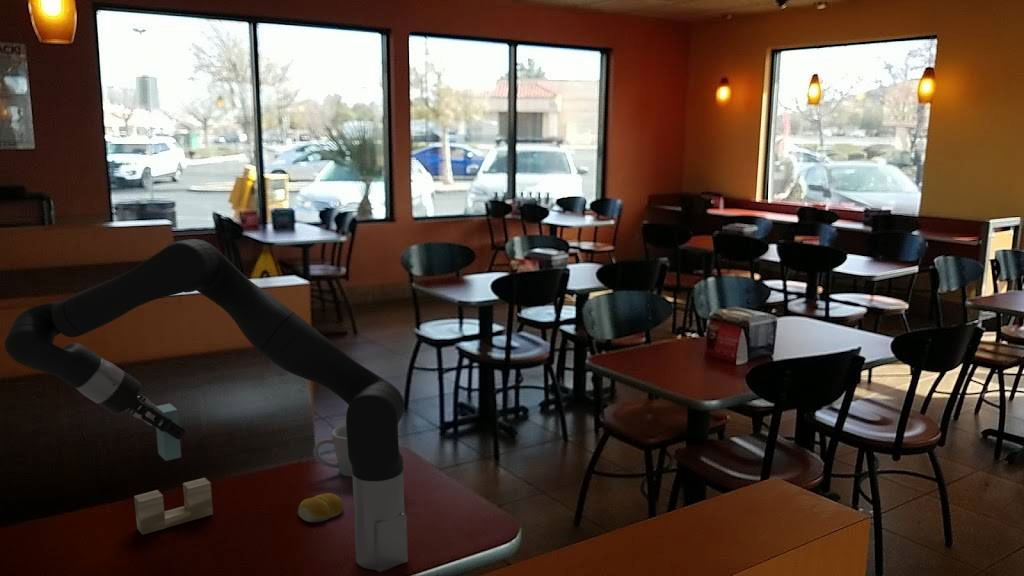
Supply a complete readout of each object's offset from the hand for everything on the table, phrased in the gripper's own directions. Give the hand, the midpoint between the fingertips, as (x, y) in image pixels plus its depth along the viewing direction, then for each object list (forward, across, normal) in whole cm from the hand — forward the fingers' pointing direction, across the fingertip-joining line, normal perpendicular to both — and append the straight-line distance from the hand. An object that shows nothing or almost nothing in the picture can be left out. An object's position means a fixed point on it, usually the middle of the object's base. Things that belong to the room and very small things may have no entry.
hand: (177, 431), depth 165 cm
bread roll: (+30, -16, -2) cm, 34 cm away
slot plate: (+12, 0, +15) cm, 19 cm away
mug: (+40, 0, -13) cm, 42 cm away
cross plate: (+2, 0, +5) cm, 5 cm away
